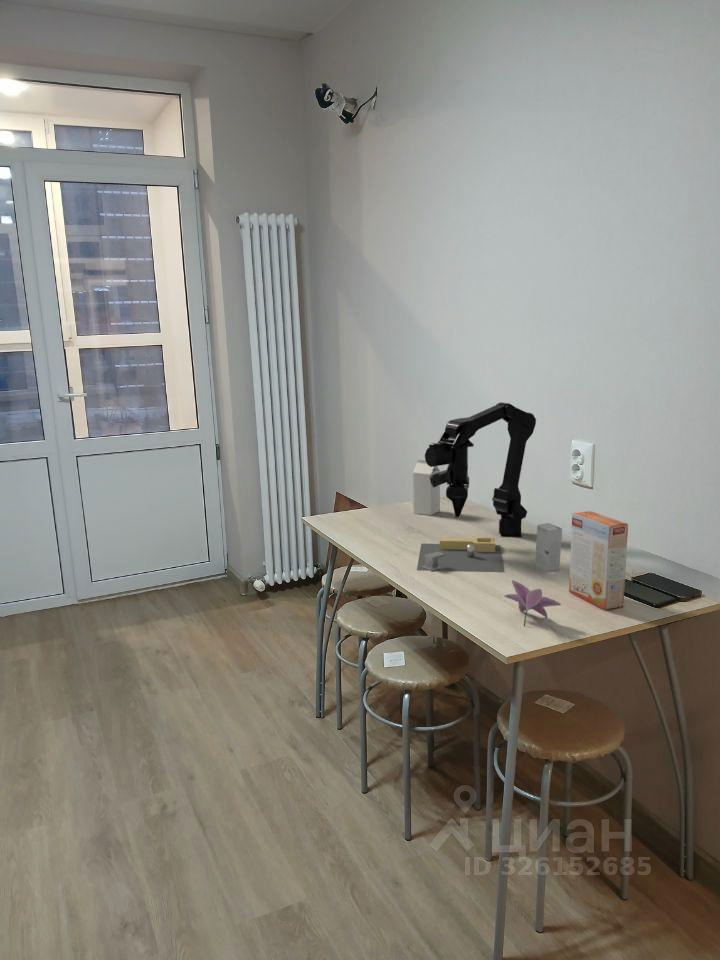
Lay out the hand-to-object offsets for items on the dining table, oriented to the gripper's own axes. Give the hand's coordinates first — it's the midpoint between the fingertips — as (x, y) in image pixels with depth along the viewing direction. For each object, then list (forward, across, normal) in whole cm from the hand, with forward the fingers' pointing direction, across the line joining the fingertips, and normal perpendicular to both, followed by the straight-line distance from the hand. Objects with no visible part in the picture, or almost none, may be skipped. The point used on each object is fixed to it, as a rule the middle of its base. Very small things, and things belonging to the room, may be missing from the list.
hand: (458, 513), depth 227 cm
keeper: (+10, +22, -6) cm, 25 cm away
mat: (+10, +11, +1) cm, 15 cm away
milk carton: (+11, -40, -13) cm, 43 cm away
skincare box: (+11, +18, +25) cm, 33 cm away
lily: (+11, +55, +19) cm, 59 cm away
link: (+10, +3, +3) cm, 11 cm away
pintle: (+10, +10, +4) cm, 15 cm away
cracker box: (+11, +40, +35) cm, 55 cm away
